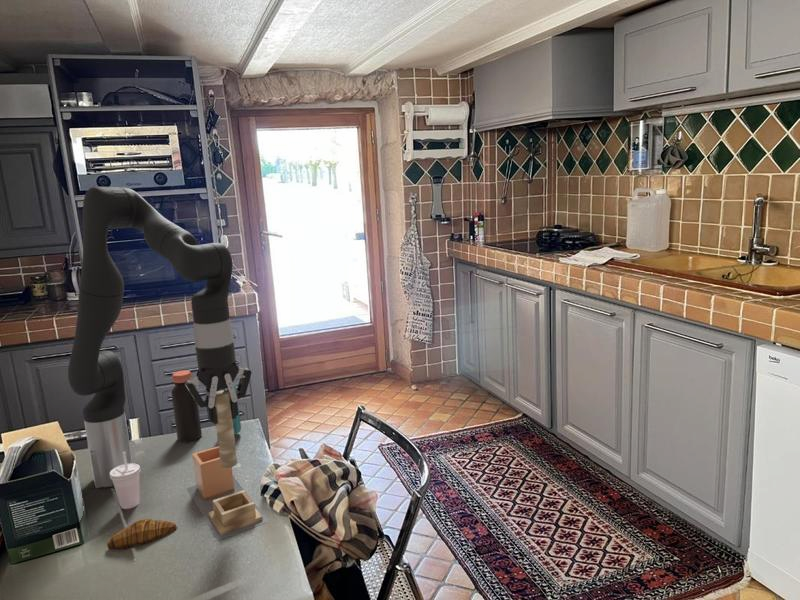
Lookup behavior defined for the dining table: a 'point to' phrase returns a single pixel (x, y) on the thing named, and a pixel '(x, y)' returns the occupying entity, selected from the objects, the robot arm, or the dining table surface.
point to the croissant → (140, 533)
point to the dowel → (225, 430)
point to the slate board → (207, 507)
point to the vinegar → (185, 409)
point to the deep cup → (212, 474)
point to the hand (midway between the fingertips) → (223, 420)
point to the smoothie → (126, 483)
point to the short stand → (234, 512)
